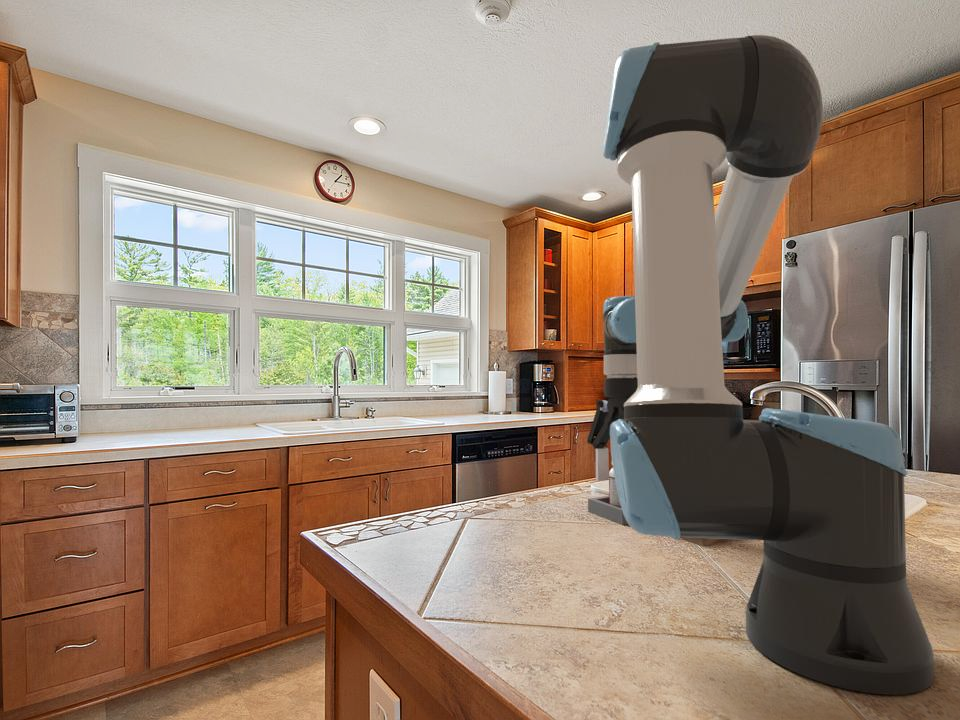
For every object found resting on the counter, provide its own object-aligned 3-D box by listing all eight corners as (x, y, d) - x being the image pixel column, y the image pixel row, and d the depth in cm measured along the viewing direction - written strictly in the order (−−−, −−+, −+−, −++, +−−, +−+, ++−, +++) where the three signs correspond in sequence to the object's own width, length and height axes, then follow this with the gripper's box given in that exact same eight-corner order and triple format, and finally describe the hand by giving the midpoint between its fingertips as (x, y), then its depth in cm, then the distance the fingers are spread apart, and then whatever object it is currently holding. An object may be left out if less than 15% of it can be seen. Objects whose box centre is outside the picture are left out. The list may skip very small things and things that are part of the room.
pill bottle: (621, 509, 104) (621, 452, 104) (648, 515, 99) (648, 456, 100) (602, 514, 100) (602, 455, 100) (630, 521, 95) (629, 459, 96)
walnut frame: (702, 545, 81) (702, 538, 81) (650, 527, 91) (650, 520, 91) (749, 536, 86) (749, 529, 86) (696, 519, 96) (696, 513, 96)
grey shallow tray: (622, 524, 93) (622, 510, 93) (588, 511, 102) (588, 498, 102) (702, 511, 102) (701, 498, 102) (663, 500, 111) (663, 488, 111)
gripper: (688, 376, 91) (690, 498, 90) (598, 376, 113) (599, 474, 113) (656, 377, 88) (658, 503, 87) (570, 376, 110) (570, 477, 109)
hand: (624, 487), depth 100 cm, fingers open, 13 cm apart
